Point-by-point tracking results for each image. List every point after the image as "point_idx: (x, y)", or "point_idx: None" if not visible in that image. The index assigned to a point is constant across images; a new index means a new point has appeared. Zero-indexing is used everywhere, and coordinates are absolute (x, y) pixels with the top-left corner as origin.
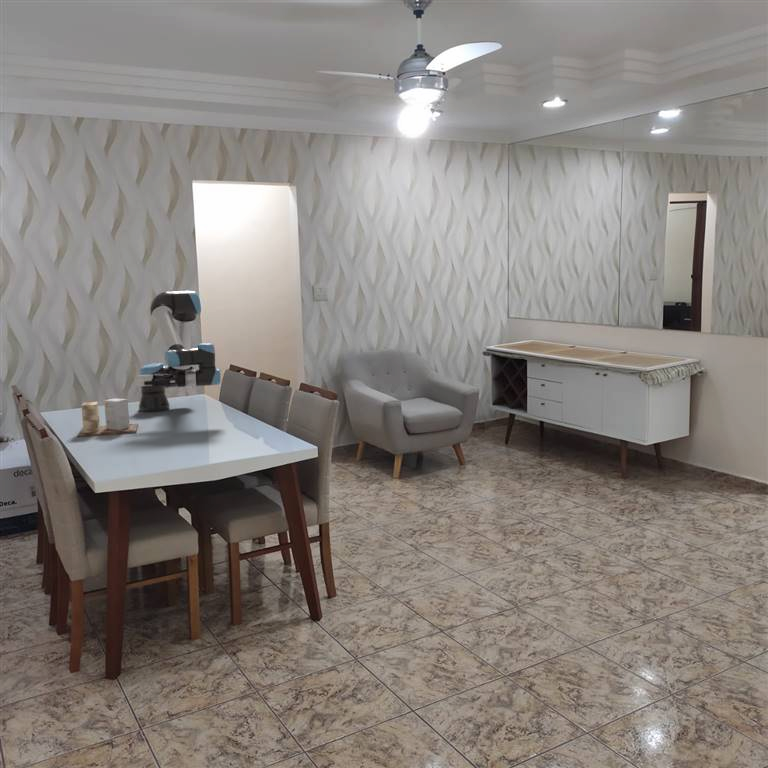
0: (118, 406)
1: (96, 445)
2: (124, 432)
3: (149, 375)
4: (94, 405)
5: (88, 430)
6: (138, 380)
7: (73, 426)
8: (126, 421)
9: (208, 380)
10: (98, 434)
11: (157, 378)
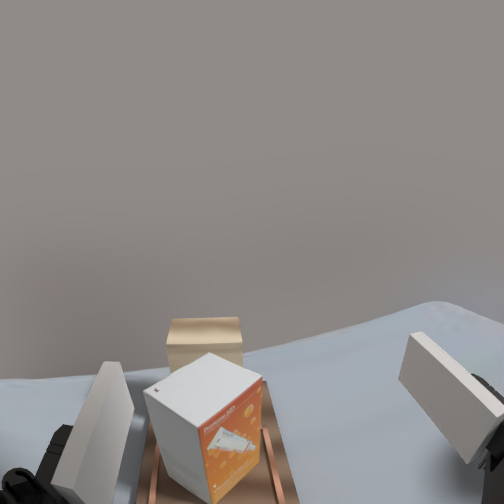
0: (151, 413)
1: (27, 415)
2: (139, 492)
3: (474, 400)
4: (167, 343)
5: None
6: (97, 375)
7: (318, 361)
8: (194, 484)
9: None
10: (149, 426)
11: (494, 490)
